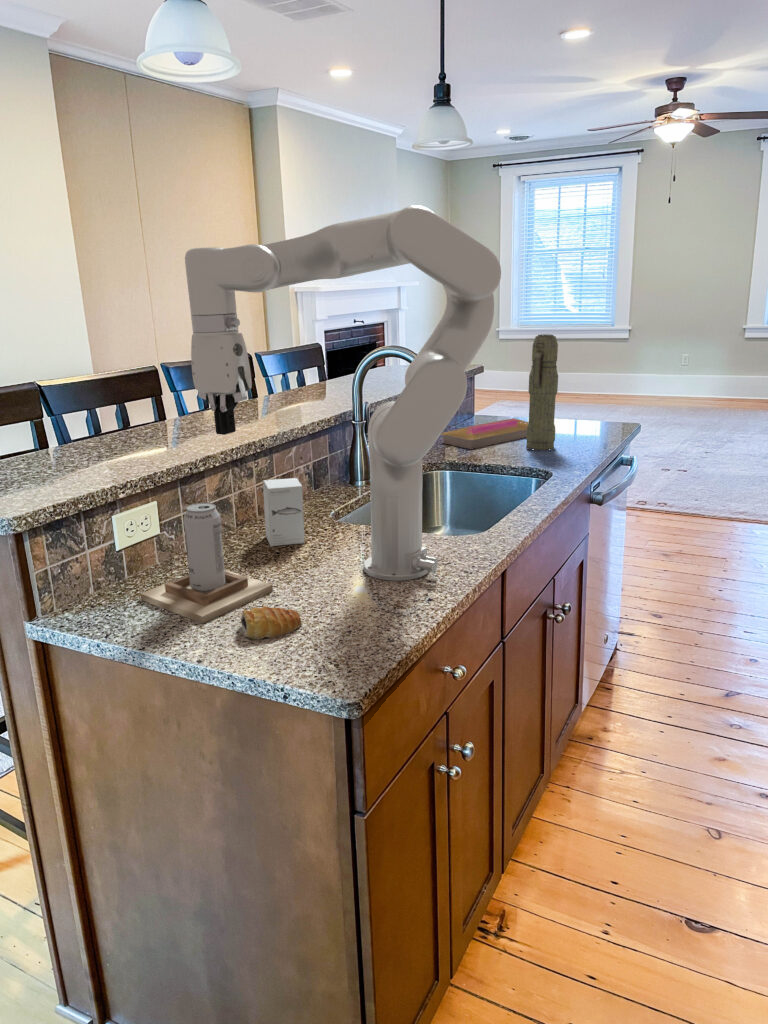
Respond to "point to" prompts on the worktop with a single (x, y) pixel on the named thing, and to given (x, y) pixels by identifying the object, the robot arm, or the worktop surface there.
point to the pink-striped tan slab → (486, 433)
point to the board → (206, 596)
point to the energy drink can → (204, 547)
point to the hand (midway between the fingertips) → (226, 432)
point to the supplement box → (283, 511)
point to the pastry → (269, 622)
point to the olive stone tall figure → (542, 393)
